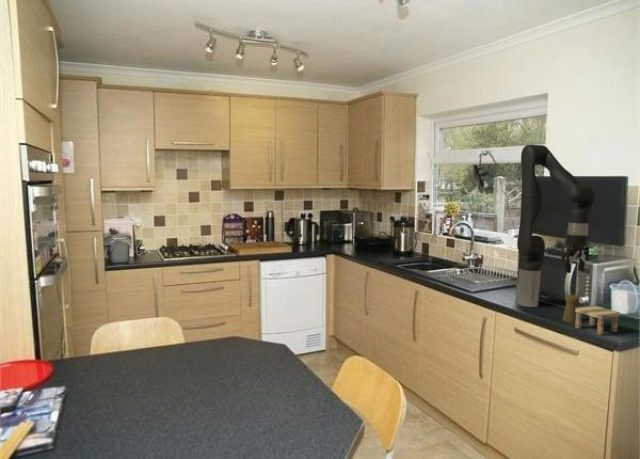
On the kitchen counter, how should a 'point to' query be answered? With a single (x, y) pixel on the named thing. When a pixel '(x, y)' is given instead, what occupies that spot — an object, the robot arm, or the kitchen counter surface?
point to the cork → (570, 308)
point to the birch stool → (597, 313)
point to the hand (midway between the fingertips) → (574, 271)
